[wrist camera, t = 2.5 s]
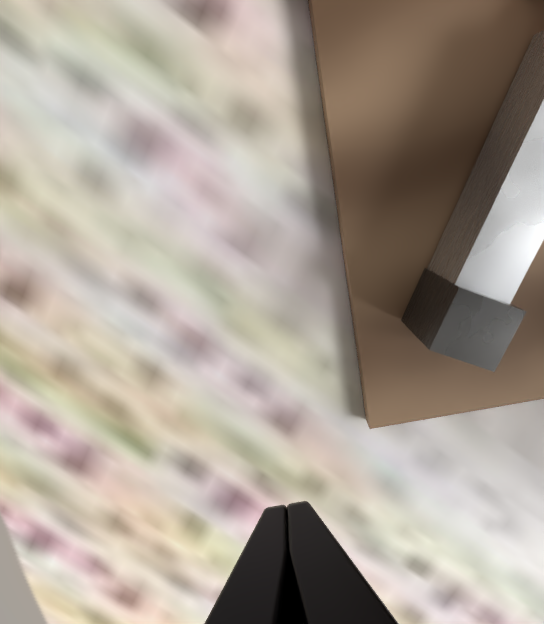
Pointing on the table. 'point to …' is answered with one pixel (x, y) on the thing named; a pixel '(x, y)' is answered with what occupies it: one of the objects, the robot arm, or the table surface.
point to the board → (419, 183)
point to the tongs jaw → (489, 233)
